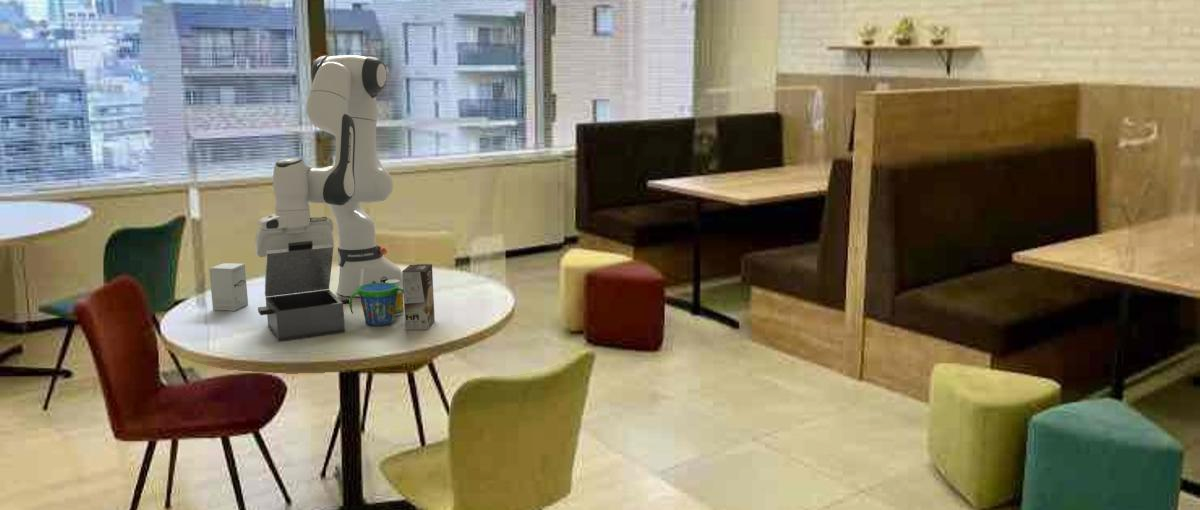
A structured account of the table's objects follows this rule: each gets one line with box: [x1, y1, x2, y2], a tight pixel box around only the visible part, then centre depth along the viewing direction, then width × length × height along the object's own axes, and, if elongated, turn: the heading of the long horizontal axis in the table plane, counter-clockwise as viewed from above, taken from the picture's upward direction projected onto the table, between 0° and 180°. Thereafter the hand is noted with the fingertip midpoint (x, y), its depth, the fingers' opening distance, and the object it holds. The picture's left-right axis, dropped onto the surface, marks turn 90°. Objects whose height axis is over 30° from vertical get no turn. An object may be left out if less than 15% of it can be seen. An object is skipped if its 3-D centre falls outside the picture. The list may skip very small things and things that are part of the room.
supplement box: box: [208, 262, 249, 312], centre depth 285 cm, size 7×7×13 cm
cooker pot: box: [257, 289, 350, 342], centre depth 262 cm, size 23×17×8 cm
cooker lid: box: [264, 241, 334, 298], centre depth 263 cm, size 17×19×1 cm
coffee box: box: [401, 263, 436, 331], centre depth 263 cm, size 9×6×16 cm
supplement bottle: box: [385, 280, 404, 317], centre depth 276 cm, size 5×5×10 cm
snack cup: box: [348, 283, 403, 327], centre depth 267 cm, size 16×10×10 cm
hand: (296, 269), depth 265 cm, fingers closed, pressing on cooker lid
